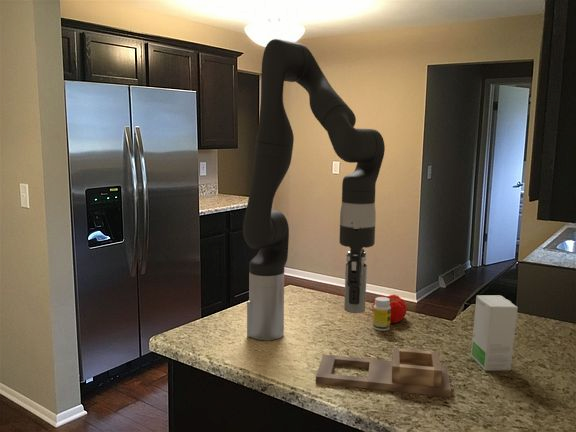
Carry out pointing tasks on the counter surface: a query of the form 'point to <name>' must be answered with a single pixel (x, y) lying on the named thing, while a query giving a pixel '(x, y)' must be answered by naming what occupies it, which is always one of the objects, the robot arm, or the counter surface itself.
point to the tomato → (396, 308)
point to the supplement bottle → (382, 314)
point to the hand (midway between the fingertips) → (355, 299)
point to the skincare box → (493, 332)
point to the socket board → (391, 372)
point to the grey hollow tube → (361, 306)
